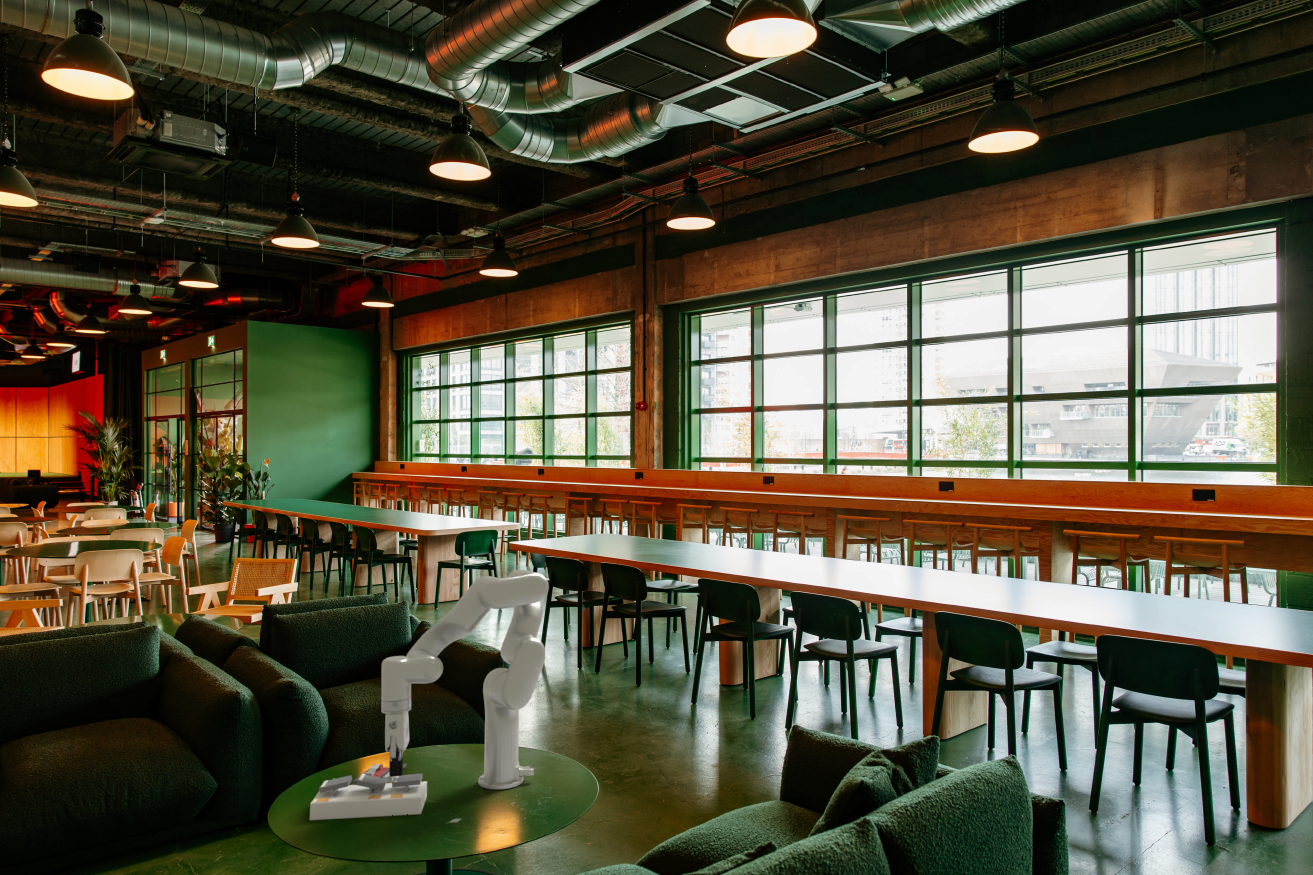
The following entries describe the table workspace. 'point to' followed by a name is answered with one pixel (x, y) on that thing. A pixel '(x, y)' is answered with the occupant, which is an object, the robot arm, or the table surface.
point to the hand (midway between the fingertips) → (396, 774)
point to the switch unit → (368, 802)
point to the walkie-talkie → (378, 772)
